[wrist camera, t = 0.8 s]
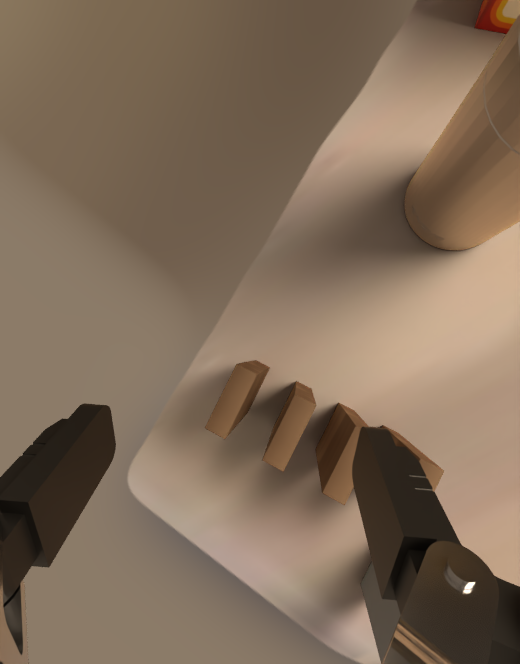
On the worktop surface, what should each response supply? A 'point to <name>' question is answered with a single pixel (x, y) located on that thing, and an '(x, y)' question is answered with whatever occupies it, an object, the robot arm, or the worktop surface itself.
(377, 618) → the domino
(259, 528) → the worktop surface
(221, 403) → the domino
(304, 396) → the domino
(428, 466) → the domino
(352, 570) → the worktop surface
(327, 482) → the domino
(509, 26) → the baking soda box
